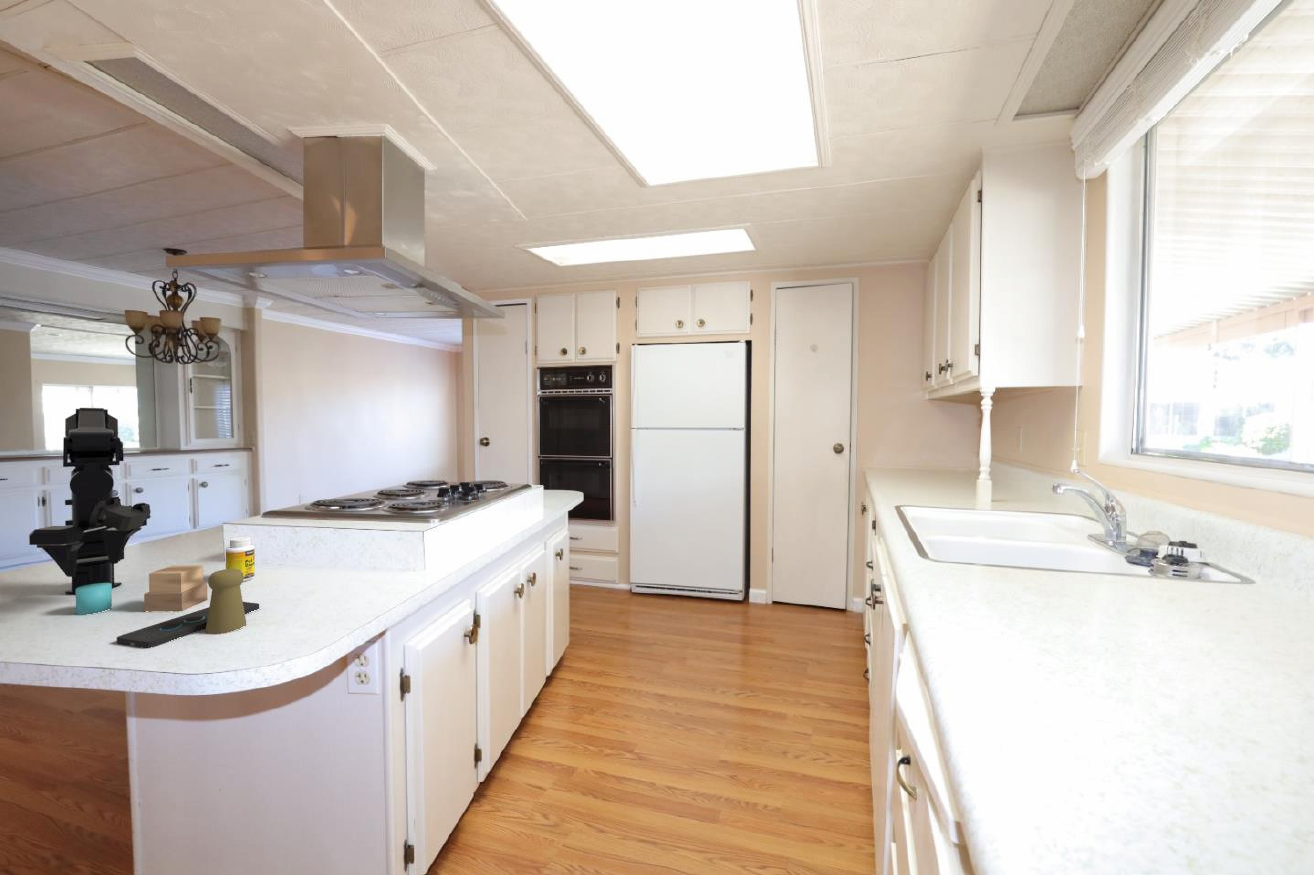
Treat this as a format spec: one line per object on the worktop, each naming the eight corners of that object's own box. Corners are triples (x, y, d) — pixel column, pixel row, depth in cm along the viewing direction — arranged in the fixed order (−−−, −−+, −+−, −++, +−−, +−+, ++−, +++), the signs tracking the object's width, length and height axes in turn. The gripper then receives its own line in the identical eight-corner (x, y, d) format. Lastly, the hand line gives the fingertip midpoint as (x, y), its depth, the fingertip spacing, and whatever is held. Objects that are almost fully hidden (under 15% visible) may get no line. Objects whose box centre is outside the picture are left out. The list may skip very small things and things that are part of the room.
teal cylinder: (92, 606, 109) (91, 582, 109) (118, 606, 110) (118, 582, 110) (68, 615, 104) (67, 590, 104) (96, 615, 105) (95, 590, 105)
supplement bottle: (247, 582, 126) (247, 540, 126) (220, 584, 125) (220, 541, 125) (259, 576, 132) (259, 535, 132) (233, 577, 131) (233, 536, 130)
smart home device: (113, 636, 92) (230, 599, 111) (113, 646, 92) (230, 607, 111) (149, 641, 90) (261, 603, 110) (149, 651, 90) (261, 611, 110)
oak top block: (172, 583, 113) (172, 565, 113) (203, 583, 114) (203, 565, 114) (149, 592, 107) (148, 573, 107) (181, 592, 108) (181, 573, 108)
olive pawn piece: (212, 636, 95) (212, 576, 95) (199, 629, 99) (199, 571, 98) (252, 626, 101) (252, 569, 100) (238, 619, 104) (238, 564, 103)
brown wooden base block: (172, 601, 114) (172, 583, 114) (207, 600, 114) (207, 582, 114) (144, 613, 107) (144, 593, 107) (181, 612, 107) (181, 593, 107)
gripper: (92, 500, 98) (93, 583, 98) (173, 487, 116) (173, 557, 117) (25, 500, 97) (26, 584, 97) (117, 487, 115) (118, 557, 116)
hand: (93, 569), depth 107 cm, fingers open, 9 cm apart
